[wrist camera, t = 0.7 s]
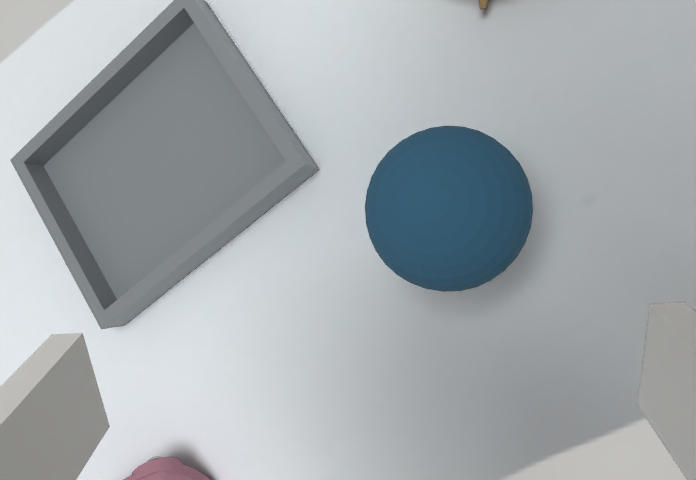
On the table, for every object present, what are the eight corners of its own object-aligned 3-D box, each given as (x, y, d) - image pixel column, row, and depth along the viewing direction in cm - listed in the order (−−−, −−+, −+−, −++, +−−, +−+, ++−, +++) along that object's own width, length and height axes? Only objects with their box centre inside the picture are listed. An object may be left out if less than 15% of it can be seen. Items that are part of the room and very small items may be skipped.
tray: (206, 2, 43) (187, -13, 41) (319, 169, 40) (305, 163, 38) (36, 164, 48) (10, 159, 46) (124, 325, 45) (101, 329, 43)
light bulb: (428, 302, 37) (377, 322, 26) (384, 183, 39) (318, 153, 27) (556, 257, 35) (562, 258, 24) (505, 132, 36) (488, 75, 25)
